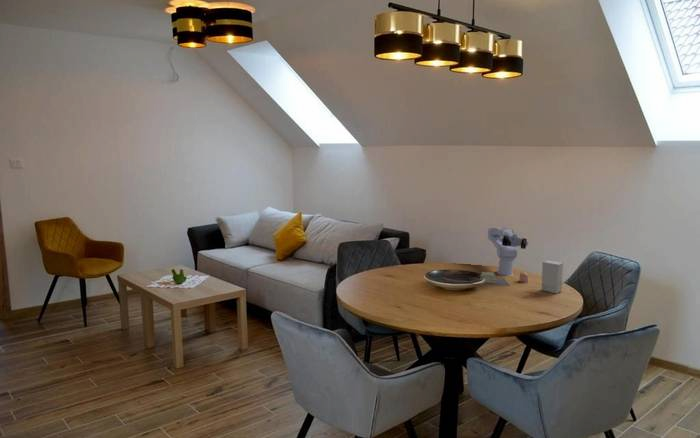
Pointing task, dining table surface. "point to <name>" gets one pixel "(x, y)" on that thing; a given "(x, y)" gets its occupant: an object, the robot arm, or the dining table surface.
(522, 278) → the rounded pink dome
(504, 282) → the charcoal mat
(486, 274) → the sage slab
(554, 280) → the skincare box
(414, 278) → the dining table surface
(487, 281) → the birch slab
